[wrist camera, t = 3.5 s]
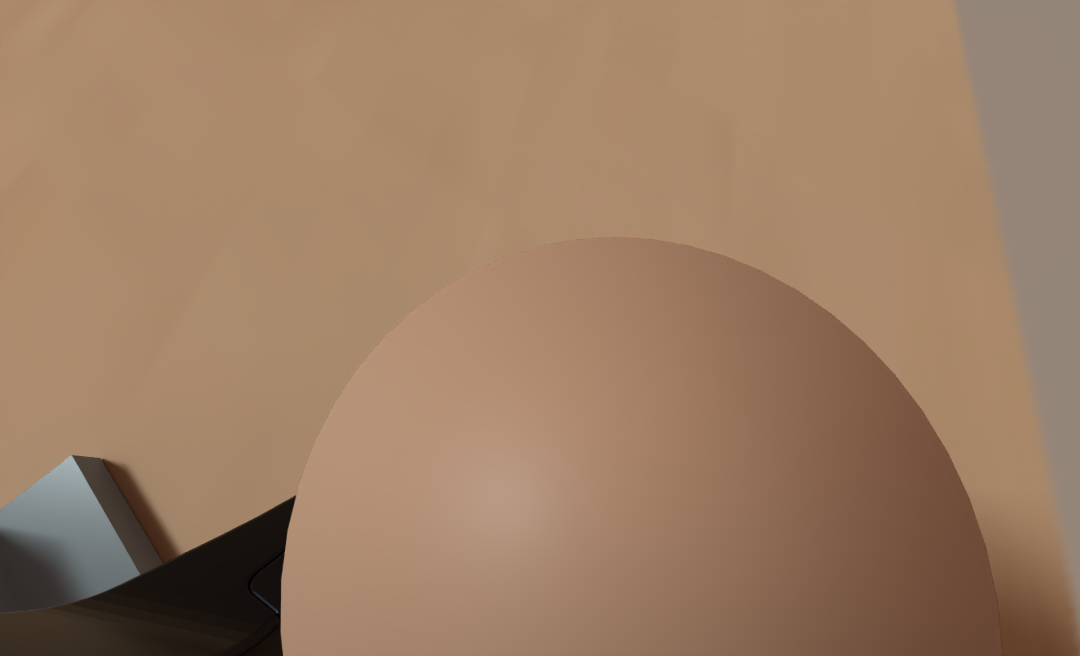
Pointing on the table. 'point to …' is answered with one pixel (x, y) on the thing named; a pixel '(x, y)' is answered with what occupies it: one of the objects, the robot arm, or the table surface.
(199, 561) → the robot arm
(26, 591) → the jig cradle
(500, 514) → the peg
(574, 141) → the table surface
